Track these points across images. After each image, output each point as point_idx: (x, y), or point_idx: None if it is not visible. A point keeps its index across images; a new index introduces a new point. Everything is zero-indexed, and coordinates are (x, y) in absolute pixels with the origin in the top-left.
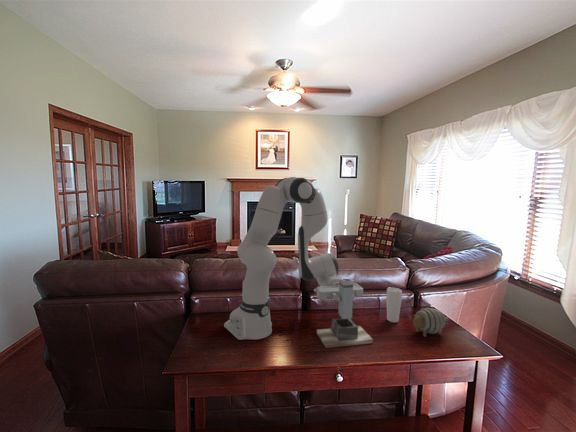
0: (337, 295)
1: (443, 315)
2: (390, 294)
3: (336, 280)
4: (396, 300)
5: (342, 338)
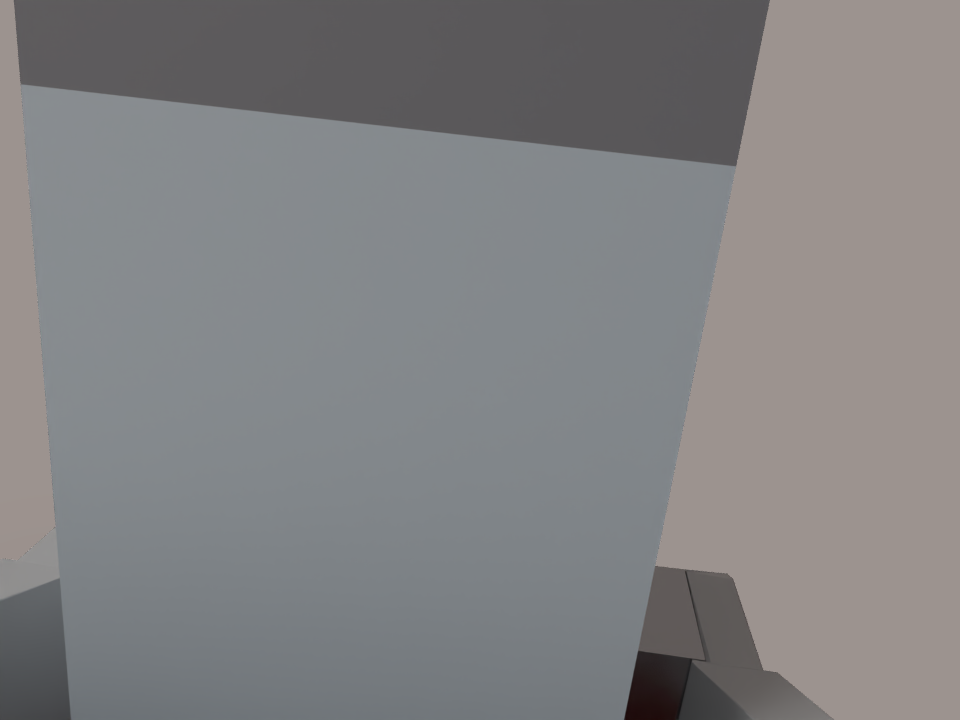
0: (735, 672)
1: None
2: None
3: None
4: None
5: None
